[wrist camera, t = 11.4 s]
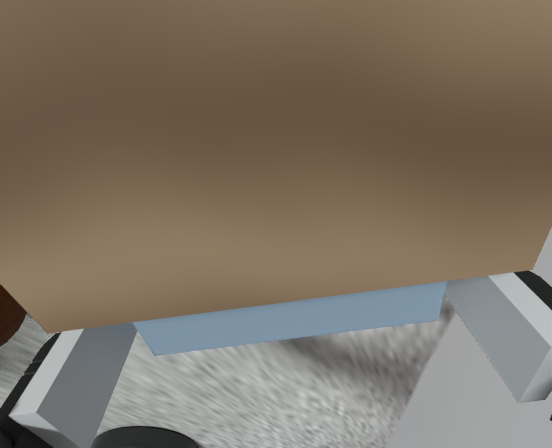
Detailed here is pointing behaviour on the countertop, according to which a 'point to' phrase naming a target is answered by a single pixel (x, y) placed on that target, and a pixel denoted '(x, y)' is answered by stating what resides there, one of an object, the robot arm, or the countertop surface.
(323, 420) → the countertop surface
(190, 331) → the block
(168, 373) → the countertop surface
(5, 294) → the potato
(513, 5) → the cabinet
